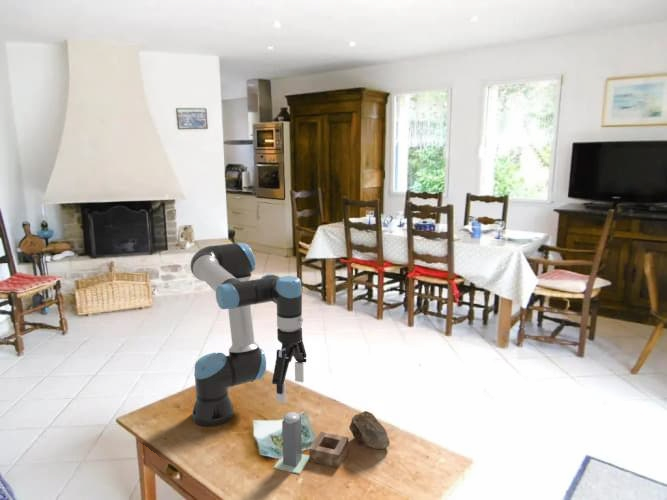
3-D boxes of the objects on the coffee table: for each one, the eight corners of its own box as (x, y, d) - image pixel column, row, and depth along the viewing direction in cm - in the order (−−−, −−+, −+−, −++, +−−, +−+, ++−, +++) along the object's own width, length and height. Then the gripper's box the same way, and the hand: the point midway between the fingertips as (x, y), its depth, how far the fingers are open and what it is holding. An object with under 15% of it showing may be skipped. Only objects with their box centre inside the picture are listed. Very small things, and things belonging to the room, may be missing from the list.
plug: (282, 464, 152) (281, 419, 148) (288, 455, 156) (287, 411, 153) (296, 467, 150) (295, 422, 147) (302, 458, 154) (301, 413, 151)
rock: (404, 426, 160) (370, 395, 162) (397, 441, 154) (362, 410, 156) (381, 445, 168) (349, 416, 170) (373, 460, 162) (340, 430, 164)
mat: (273, 468, 150) (273, 466, 150) (285, 451, 159) (285, 450, 159) (299, 474, 147) (299, 473, 147) (310, 457, 156) (310, 455, 156)
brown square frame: (309, 461, 154) (309, 448, 153) (320, 443, 163) (320, 431, 162) (338, 467, 150) (338, 455, 150) (348, 449, 160) (348, 437, 159)
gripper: (283, 345, 131) (284, 414, 135) (316, 315, 154) (316, 375, 158) (259, 341, 133) (261, 409, 138) (295, 312, 156) (295, 371, 161)
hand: (290, 391), depth 148 cm, fingers open, 13 cm apart
